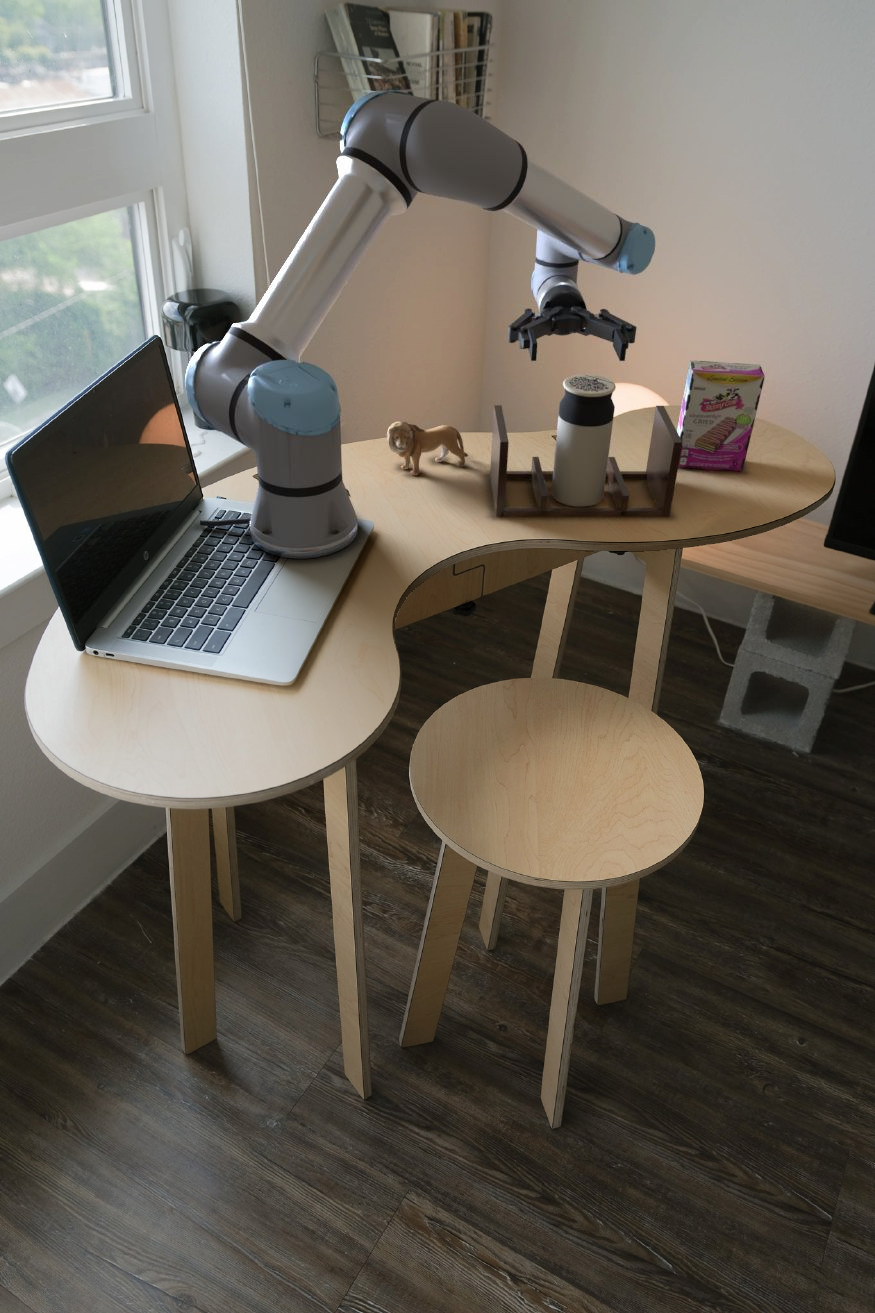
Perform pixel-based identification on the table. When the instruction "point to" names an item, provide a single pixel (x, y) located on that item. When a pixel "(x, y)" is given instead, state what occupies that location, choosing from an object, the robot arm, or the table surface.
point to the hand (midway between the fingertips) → (578, 352)
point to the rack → (657, 475)
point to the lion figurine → (424, 443)
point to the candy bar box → (718, 414)
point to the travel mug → (583, 440)
